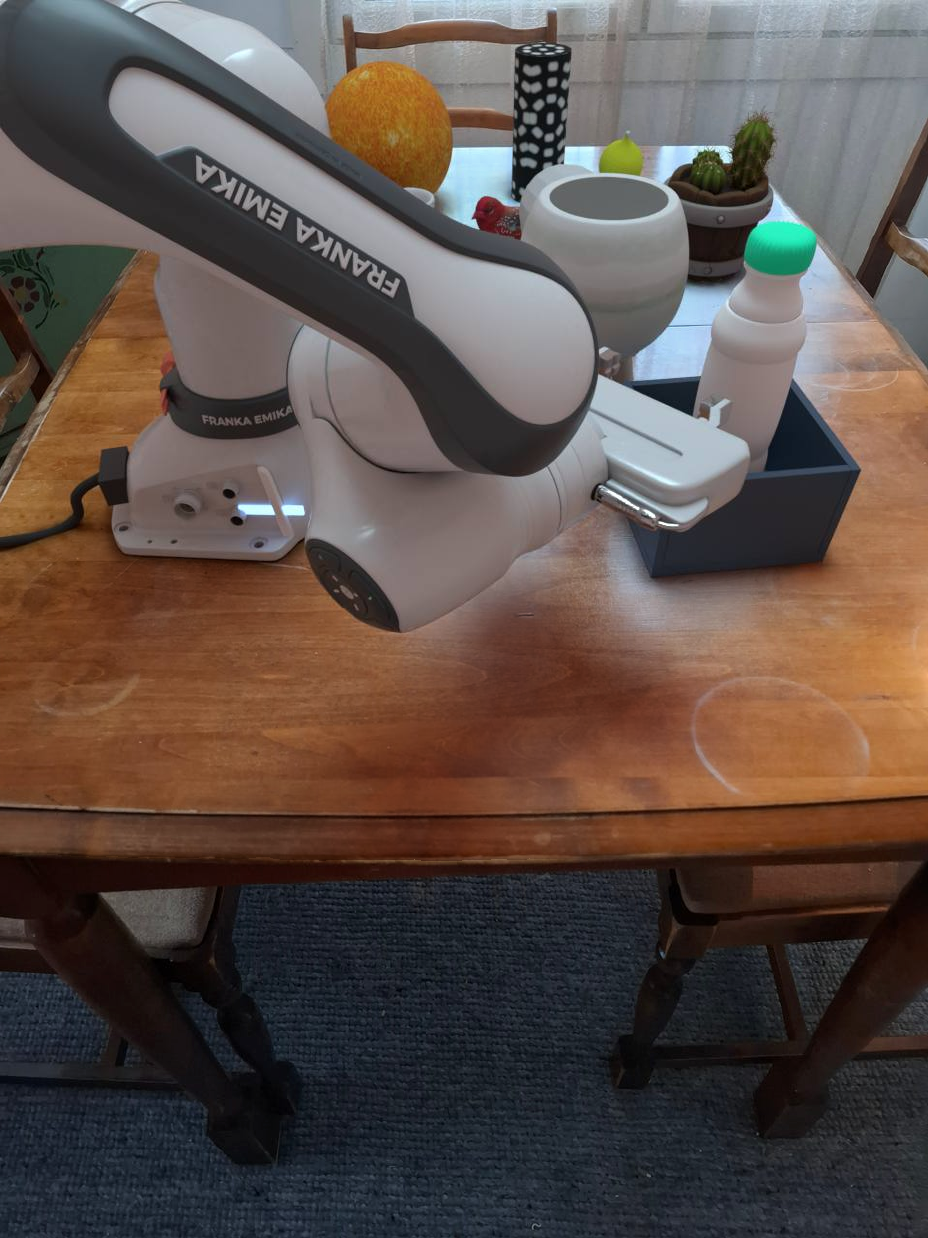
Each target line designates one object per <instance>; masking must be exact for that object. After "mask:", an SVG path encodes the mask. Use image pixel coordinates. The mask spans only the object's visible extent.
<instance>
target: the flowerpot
mask: <svg viewBox="0 0 928 1238" xmlns="http://www.w3.org/2000/svg"><path fill="white" fill-rule="evenodd" d="M767 104H768V103H766V104H765V105H764V106H763V108H762V109H761V111H760V113H758V111H757V110H756V109H752V110H753V111H752V110H751V111H750V112H751V113H753V114H752V116H749V115H750V112H748V113H747V117H746V118H745V119H743V121H744V122H743V123H740V122H738V124H739V125H740V126H739V125H738V127H736V128H735V129H734V132H733V133H731V134H729V135H728V137H729V136H733V137H731V139H730V144H731V145H729V147H728V150H729V151H727V150H725V152H726V155H727V157H728V160H729V162H724V160H723V159H722V157H723V156H724V154H723V153H722V152H723V151H724V150H723V148H722V150H718V151H716V150H717V149H718V147H715V144H713V145H712V147H711V148H709V145H708V144H704V147H703V151H701V150H700V151H699V149H695V148H694V150H696V155H695V157H694V158H692V161H691V162H690V163H685V164H681V165H679V166H678V167H677V168H675V170H673V173H672V174H671V176H669V177H667V179H666V180H664V181H663V183H662V184H664V185H666V186H668V187H669V188H671V189H672V190H673V191H674V192H675V193H676V194H677V195H678V197H679V199H680V201H681V204H682V207H683V210H684V214H685V218H686V224H687V230H688V240H689V267H688V276H687V281H688V280H689V281H691V282H697V283H702V282H703V283H710V284H711V283H717V282H720V281H727V280H728V279H731V278H732V277H734V276H735V274H736V273H737V272H739V271H741V269H743V268H745V267H744V261H745V260H744V253H745V247H746V243H747V240H748V237H749V235H750V233H751V232H752V230H753V229H754V228H755V227H756V226H758V225H759V222H761V221H763V220H765V218H766V217H768V215H769V214H770V213H771V211H772V207H773V203H774V190H773V188H772V186H771V185H770V182H769V181H770V180H769V176H768V175H770V173H768V171H766V170H768V169H770V167H769V166H768V165H769V164H771V162H774V161H773V159H774V160H777V158H776V157H774V156H775V153H776V151H774V148H776V146H778V141H780V142H782V140H781V139H779V137H776V134H778V129H776V128H775V127H776V126H775V125H776V124H774V125H773V123H770V122H771V115H772V113H774V112H773V111H772V112H771V111H770V112H768V111H767V110H766V109H765V108H766V107H767ZM735 132H736V133H735ZM774 134H775V135H774ZM777 140H778V141H777ZM732 142H733V143H732ZM774 144H775V146H774ZM700 146H701V145H699V146H698V148H700ZM705 147H706V148H705ZM712 149H713V150H712ZM721 154H722V155H721ZM770 160H771V161H770Z"/></svg>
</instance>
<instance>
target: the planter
mask: <svg viewBox="0 0 928 1238" xmlns="http://www.w3.org/2000/svg"><path fill="white" fill-rule="evenodd" d="M521 241H523V242H526V243H528V244H530V245H532V246H534V247H536V248H538V249H539V250H541V251H542V252H544V253H545V254H546V255H547V256H549V257H550V258H551V259H552V260H553V261H554V262H555V263H556V264H557V265H558V266H559V267H560V268H561V269H562V270H563V271H564V272H565V274H566V275H567V276H568V277H569V278H570V280H571V281H572V282H573V284H574V285H575V287H576V288H577V290H578V291H579V293H580V294H581V296H582V298H583V300H584V302H585V304H586V305H587V308H588V310H589V312H590V315H591V317H592V320H593V323H594V326H595V329H596V334H597V339H598V345H599V349H601V348H602V347H607V348H610V349H612V350H614V351H616V352H618V353H620V354H621V355H622V356H621V360H620V361H619V363H620V369H619V372H618V373H617V375H615V376H612V377H610V380H613V381H615V382H617V383H619V384H622V382H628V381H630V382H631V381H635V380H634V367H633V358H634V357H635V356H636V355H638V354H639V353H640V352H641V351H643V350H644V349H646V348H647V347H648V346H649V347H650V345H651V344H652V343H654V342H655V341H656V340H657V339H658V338H659V337H660V336H662V334H663V333H664V331H666V330H667V328H668V327H669V326H670V325H671V323H672V322H673V320H674V319H675V318H676V316H677V313H678V311H679V309H680V307H681V304H682V302H683V298H684V295H685V291H686V287H687V283H688V279H687V276H688V267H689V240H688V230H687V224H686V218H685V214H684V210H683V207H682V204H681V201H680V199H679V197H678V195H677V194H676V193H675V192H674V191H673V190H672V189H671V188H669V187H668V186H666V185H664V184H663V183H662V182H660V181H657V180H654V179H652V178H648V177H644V176H641V175H640V176H635V175H628V174H619V173H599V172H594V173H591V174H581V175H575V176H570V177H566V178H563V179H560V180H557V181H555V182H552V183H551V184H549V185H547V186H546V187H545V188H544V189H543V190H542V191H541V192H540V194H539V195H538V197H537V198H536V200H535V202H534V204H533V206H532V208H531V210H530V213H529V215H528V218H527V220H526V223H525V226H524V229H523V233H522V237H521Z"/></svg>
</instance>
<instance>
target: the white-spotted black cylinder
mask: <svg viewBox="0 0 928 1238" xmlns="http://www.w3.org/2000/svg"><path fill="white" fill-rule="evenodd" d="M572 53H573V48H572V47H570V46H569V45H565V44H563V43H562V44H561V43H557V42H556V43H555V42H533V43H532V42H531V43H526V44H522V45H519V46H517V47H515V49H514V73H513V74H514V75H513V76H514V77H513V78H514V79H513V117H512V119H513V120H512V124H513V125H512V157H511V158H512V159H511V160H512V161H511V198H512V199H513V200H515V201H517V202H519V203H521V198H522V196H523V193H524V191H525V189H526V187H527V185H528V184H529V183H530V182H531V180H532V179H533V178H534V177H535V176H536V175H537V174H538V173H540V172H541V171H543V170H544V169H546V168H548V167H551V166H555V165H558V164H565V158H566V157H565V156H566V142H567V141H566V139H567V126H568V113H569V112H568V110H569V97H570V95H569V94H570V83H571V81H570V80H571V68H572V67H571V66H572Z"/></svg>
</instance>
